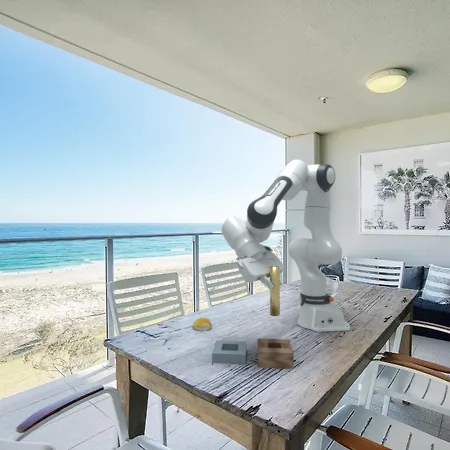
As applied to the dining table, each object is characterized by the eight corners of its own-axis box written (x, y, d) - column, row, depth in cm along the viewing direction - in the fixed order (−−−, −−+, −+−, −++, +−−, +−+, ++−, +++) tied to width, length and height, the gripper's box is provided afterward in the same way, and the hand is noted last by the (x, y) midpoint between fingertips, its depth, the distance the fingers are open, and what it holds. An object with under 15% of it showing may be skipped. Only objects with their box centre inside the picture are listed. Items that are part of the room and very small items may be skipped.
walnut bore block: (289, 356, 109) (289, 339, 109) (293, 372, 98) (293, 353, 98) (257, 355, 110) (257, 338, 110) (257, 370, 100) (258, 351, 99)
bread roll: (209, 323, 144) (209, 315, 144) (213, 330, 135) (213, 321, 135) (191, 325, 142) (191, 316, 142) (194, 332, 134) (194, 322, 134)
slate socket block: (246, 352, 113) (246, 341, 113) (245, 366, 102) (245, 354, 102) (216, 351, 114) (216, 340, 114) (211, 365, 103) (211, 353, 103)
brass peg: (279, 313, 106) (279, 266, 105) (280, 316, 102) (280, 267, 102) (269, 313, 106) (269, 265, 106) (270, 316, 103) (270, 267, 102)
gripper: (238, 251, 100) (264, 286, 94) (273, 246, 116) (297, 276, 110) (228, 264, 103) (252, 298, 97) (262, 258, 119) (285, 287, 113)
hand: (276, 286), depth 104 cm, fingers closed on brass peg, 3 cm apart
